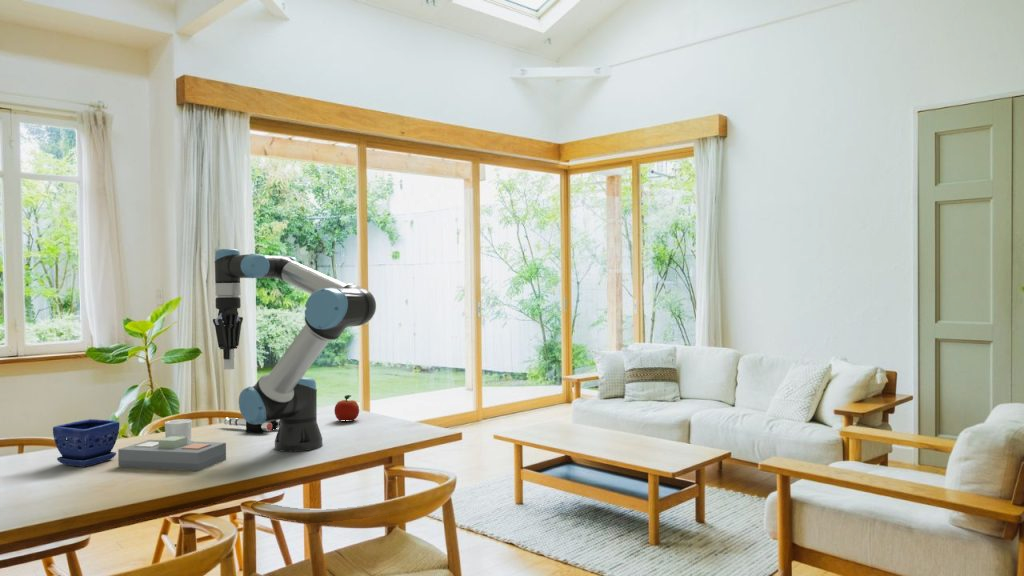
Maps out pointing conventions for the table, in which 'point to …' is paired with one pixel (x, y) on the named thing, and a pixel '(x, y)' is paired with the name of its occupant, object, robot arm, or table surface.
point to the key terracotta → (196, 446)
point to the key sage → (173, 442)
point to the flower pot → (86, 441)
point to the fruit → (346, 409)
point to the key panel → (172, 456)
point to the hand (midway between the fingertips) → (229, 369)
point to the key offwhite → (148, 444)
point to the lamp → (253, 425)
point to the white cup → (179, 428)
